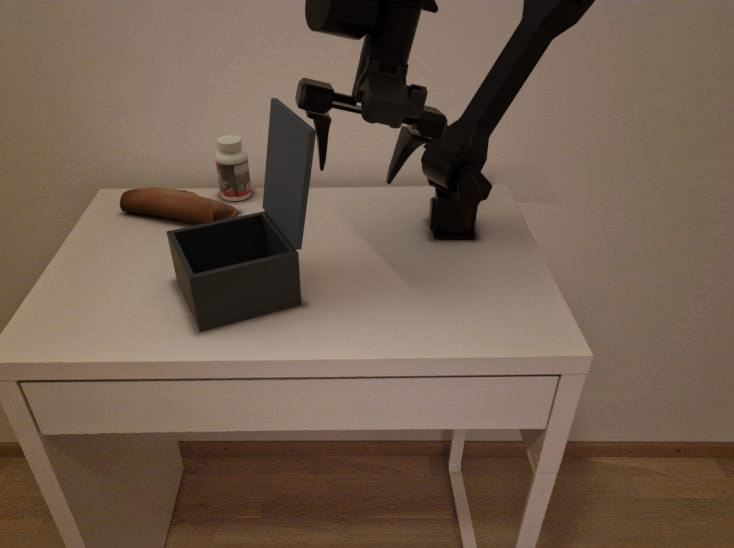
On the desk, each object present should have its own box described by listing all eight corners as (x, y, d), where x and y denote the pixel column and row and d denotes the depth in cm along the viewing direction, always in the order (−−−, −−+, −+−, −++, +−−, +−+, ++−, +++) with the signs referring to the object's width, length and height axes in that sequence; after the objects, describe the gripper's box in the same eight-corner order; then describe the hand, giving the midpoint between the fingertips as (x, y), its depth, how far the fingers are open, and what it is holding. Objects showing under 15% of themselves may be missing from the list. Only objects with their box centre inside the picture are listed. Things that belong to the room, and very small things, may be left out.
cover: (309, 130, 64) (316, 130, 64) (270, 97, 72) (277, 98, 73) (295, 249, 72) (301, 249, 72) (262, 207, 81) (267, 207, 81)
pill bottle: (214, 196, 103) (205, 139, 96) (237, 186, 106) (230, 130, 100) (235, 205, 100) (227, 147, 94) (258, 194, 103) (252, 137, 97)
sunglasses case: (241, 207, 98) (227, 182, 92) (226, 243, 96) (210, 220, 90) (150, 191, 103) (130, 167, 97) (134, 226, 101) (113, 203, 95)
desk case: (199, 332, 73) (188, 278, 68) (177, 281, 82) (166, 231, 77) (301, 305, 77) (298, 253, 72) (269, 260, 86) (265, 210, 81)
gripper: (316, 35, 61) (289, 182, 70) (480, 76, 66) (436, 210, 74) (307, 25, 70) (284, 156, 79) (452, 61, 75) (415, 182, 83)
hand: (355, 176), depth 78 cm, fingers open, 9 cm apart
